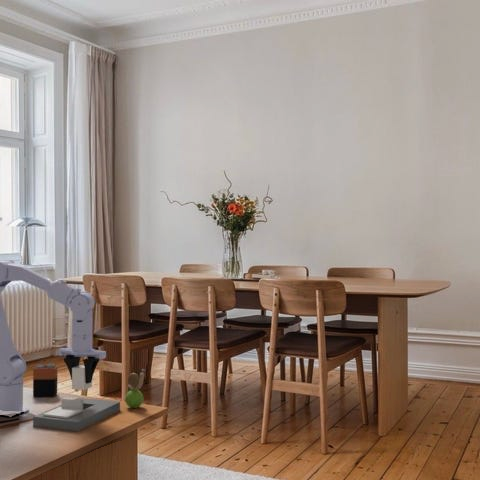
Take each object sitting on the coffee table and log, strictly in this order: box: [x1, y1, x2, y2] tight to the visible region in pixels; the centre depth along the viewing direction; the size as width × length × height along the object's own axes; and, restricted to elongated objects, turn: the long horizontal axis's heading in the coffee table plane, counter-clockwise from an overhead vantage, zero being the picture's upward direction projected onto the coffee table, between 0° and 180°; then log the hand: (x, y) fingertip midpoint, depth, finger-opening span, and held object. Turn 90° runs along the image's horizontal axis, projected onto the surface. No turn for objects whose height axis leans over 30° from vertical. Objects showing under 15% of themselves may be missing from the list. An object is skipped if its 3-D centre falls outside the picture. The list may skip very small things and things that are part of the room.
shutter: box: [43, 397, 83, 419], centre depth 174 cm, size 8×9×3 cm
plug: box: [71, 364, 93, 392], centre depth 182 cm, size 4×4×7 cm
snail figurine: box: [124, 368, 146, 409], centre depth 190 cm, size 5×6×12 cm
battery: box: [32, 363, 58, 398], centre depth 204 cm, size 4×7×10 cm, turn 93°
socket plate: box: [32, 397, 121, 432], centre depth 179 cm, size 14×22×2 cm, turn 161°
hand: (81, 382), depth 182 cm, fingers closed on plug, 4 cm apart
